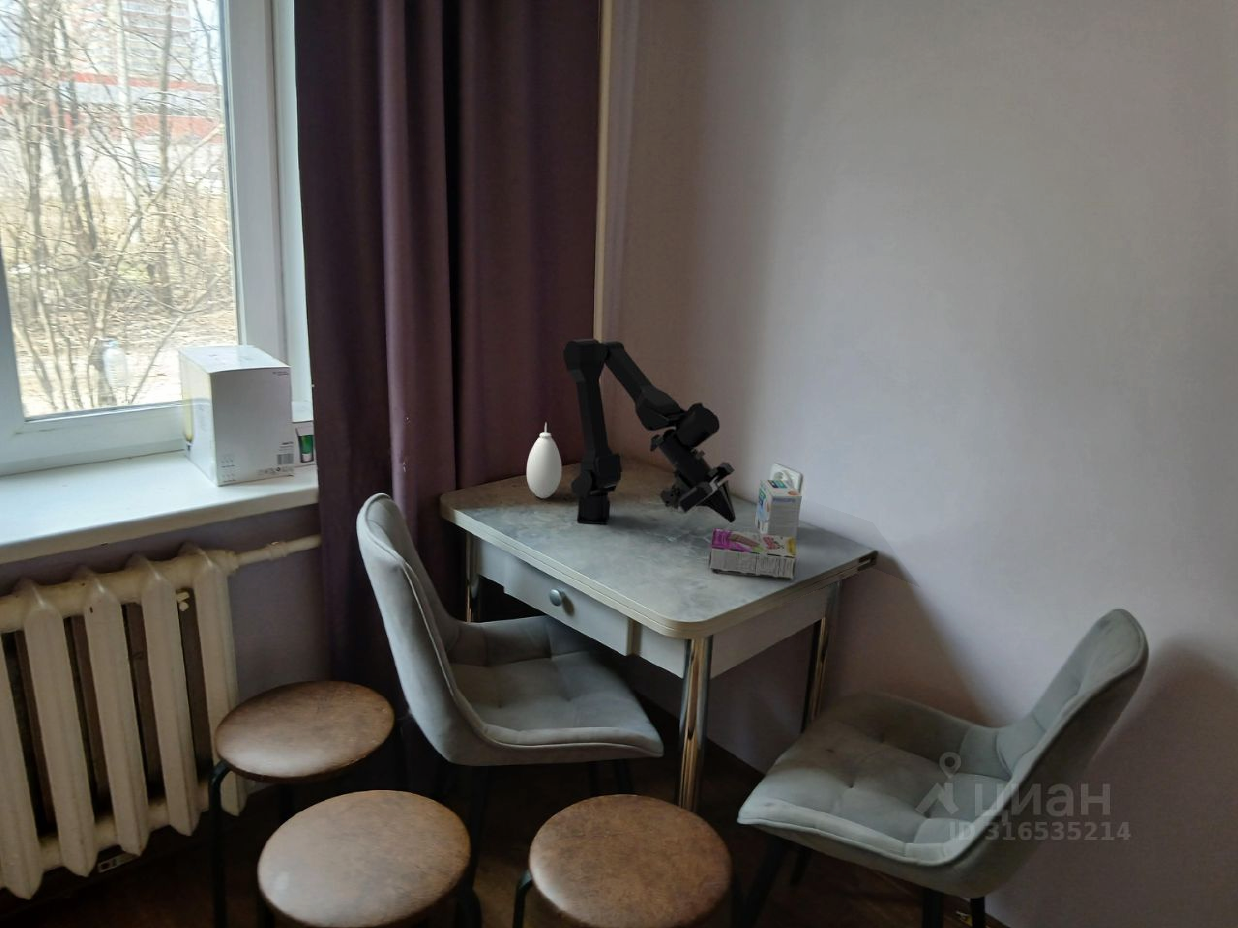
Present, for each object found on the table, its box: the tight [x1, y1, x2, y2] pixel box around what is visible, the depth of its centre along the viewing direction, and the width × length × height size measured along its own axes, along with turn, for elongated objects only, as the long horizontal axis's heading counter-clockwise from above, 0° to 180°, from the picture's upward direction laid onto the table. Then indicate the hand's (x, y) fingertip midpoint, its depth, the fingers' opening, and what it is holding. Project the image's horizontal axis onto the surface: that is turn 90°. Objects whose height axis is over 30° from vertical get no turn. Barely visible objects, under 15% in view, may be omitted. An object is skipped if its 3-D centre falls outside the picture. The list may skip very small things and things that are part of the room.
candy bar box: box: [708, 527, 797, 580], centre depth 171 cm, size 11×5×16 cm
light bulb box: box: [754, 479, 803, 542], centre depth 188 cm, size 11×7×11 cm, turn 5°
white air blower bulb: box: [526, 422, 562, 499], centre depth 200 cm, size 8×8×18 cm
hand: (733, 521), depth 168 cm, fingers closed
